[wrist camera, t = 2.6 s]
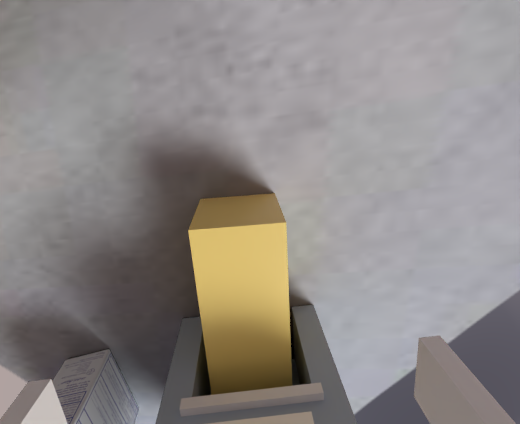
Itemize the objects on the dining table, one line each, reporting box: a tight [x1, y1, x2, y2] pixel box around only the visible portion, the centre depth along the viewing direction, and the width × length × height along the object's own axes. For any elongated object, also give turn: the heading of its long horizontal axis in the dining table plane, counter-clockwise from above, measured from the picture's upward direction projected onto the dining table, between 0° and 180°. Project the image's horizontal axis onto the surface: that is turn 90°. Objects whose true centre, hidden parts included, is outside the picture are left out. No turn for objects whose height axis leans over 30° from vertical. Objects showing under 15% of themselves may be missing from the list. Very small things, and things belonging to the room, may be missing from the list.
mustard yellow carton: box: [188, 193, 292, 395], centre depth 26 cm, size 6×16×7 cm, turn 4°
